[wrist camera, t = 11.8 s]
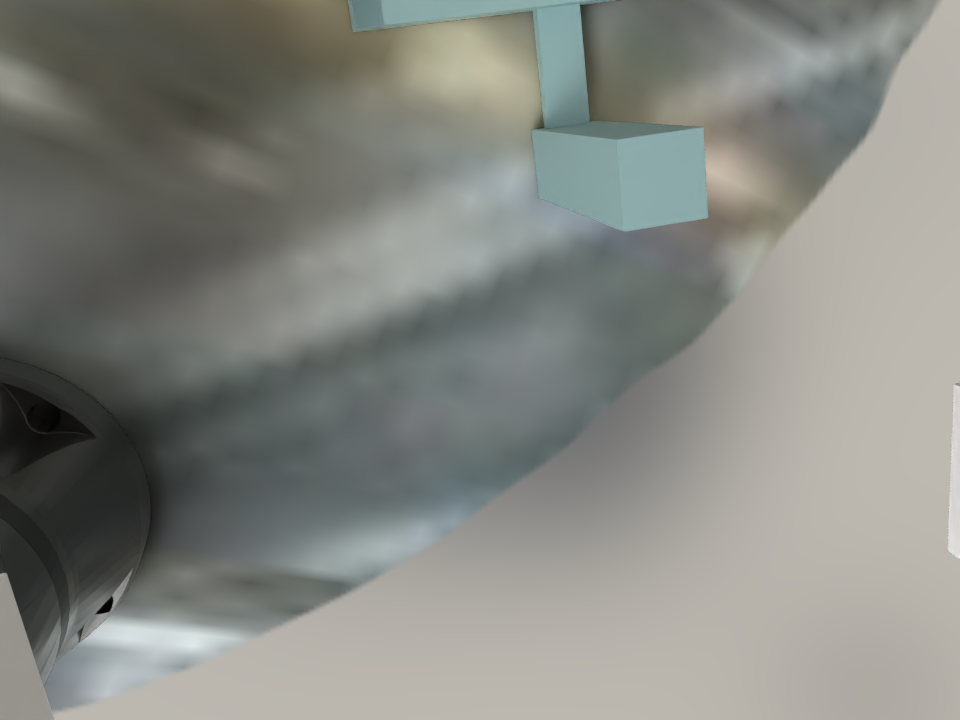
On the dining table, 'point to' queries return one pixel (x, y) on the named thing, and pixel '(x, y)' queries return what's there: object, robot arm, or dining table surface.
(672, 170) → the sled
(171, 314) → the dining table surface
